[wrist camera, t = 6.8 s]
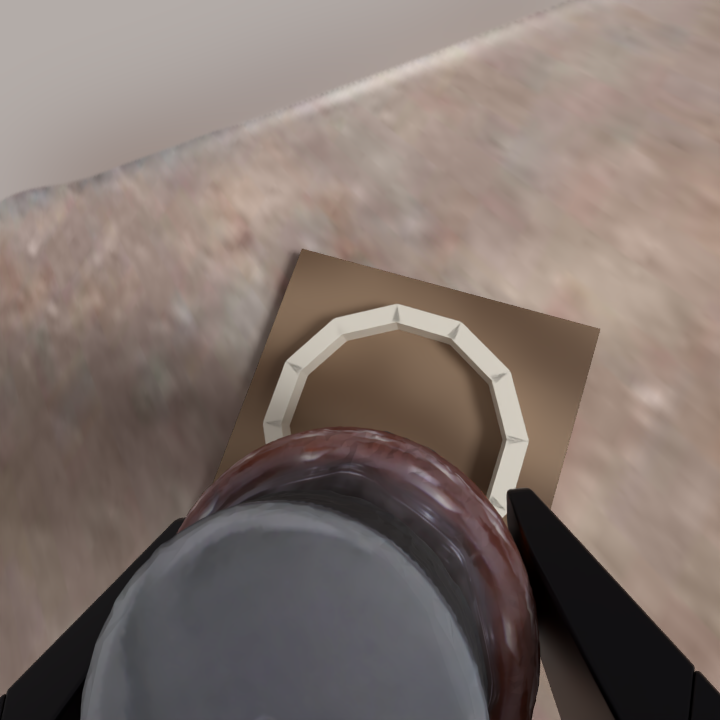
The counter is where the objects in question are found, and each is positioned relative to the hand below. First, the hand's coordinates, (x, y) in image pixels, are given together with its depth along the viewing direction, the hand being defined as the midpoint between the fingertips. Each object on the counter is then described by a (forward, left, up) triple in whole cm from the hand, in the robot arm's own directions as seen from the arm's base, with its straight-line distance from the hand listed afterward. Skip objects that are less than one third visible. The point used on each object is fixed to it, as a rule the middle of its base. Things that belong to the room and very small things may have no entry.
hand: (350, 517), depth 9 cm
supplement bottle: (-1, -1, -7) cm, 7 cm away
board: (+2, +1, -12) cm, 12 cm away
